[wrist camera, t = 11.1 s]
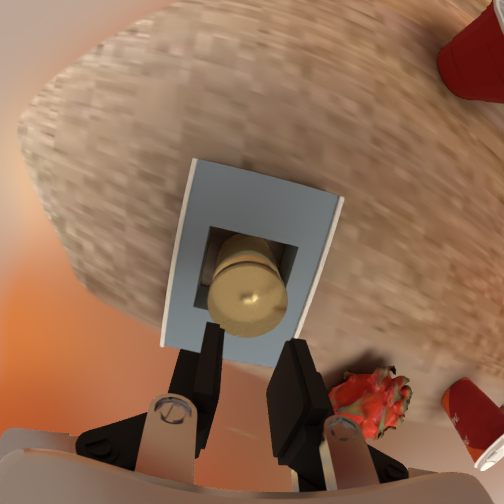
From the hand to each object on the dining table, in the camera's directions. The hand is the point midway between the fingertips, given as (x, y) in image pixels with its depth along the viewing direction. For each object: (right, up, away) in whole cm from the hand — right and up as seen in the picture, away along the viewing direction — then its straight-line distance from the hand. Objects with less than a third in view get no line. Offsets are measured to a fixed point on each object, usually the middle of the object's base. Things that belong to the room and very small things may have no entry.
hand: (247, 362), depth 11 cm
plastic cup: (+21, +23, +8) cm, 32 cm away
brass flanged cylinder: (0, +4, +13) cm, 13 cm away
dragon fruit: (+11, -11, +18) cm, 23 cm away
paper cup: (+30, -16, +20) cm, 40 cm away
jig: (0, +4, +13) cm, 13 cm away
